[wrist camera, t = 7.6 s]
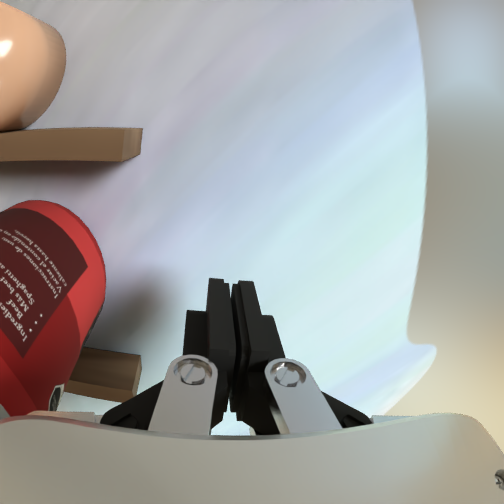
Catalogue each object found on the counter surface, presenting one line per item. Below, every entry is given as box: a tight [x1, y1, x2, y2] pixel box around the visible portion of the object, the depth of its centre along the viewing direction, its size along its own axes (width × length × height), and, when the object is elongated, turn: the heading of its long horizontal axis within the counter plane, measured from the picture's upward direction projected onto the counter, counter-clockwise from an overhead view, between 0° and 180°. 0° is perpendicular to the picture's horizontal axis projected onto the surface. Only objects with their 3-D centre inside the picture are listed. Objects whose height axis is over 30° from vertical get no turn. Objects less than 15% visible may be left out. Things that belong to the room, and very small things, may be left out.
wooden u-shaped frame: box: [0, 127, 143, 403], centre depth 13 cm, size 14×14×3 cm
